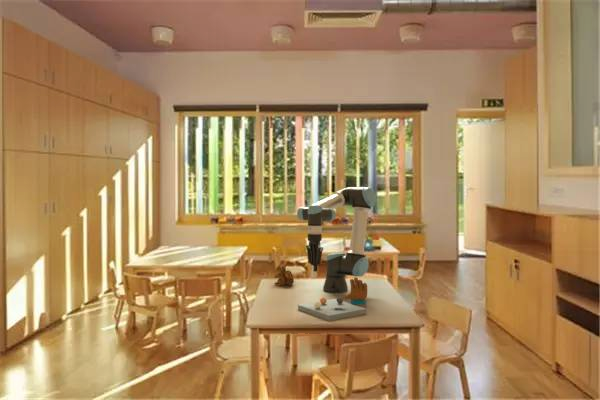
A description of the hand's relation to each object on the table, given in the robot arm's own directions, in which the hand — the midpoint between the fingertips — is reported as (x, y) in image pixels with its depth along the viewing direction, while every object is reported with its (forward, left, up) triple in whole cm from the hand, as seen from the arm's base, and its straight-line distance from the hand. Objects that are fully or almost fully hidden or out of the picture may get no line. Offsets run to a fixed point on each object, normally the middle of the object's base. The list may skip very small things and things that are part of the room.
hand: (314, 277), depth 268 cm
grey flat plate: (+15, 0, -16) cm, 22 cm away
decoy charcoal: (+12, +8, -11) cm, 18 cm away
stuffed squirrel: (-56, +18, -16) cm, 61 cm away
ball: (+8, 0, -11) cm, 14 cm away
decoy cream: (+14, -8, -11) cm, 19 cm away
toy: (+9, +22, -16) cm, 29 cm away
